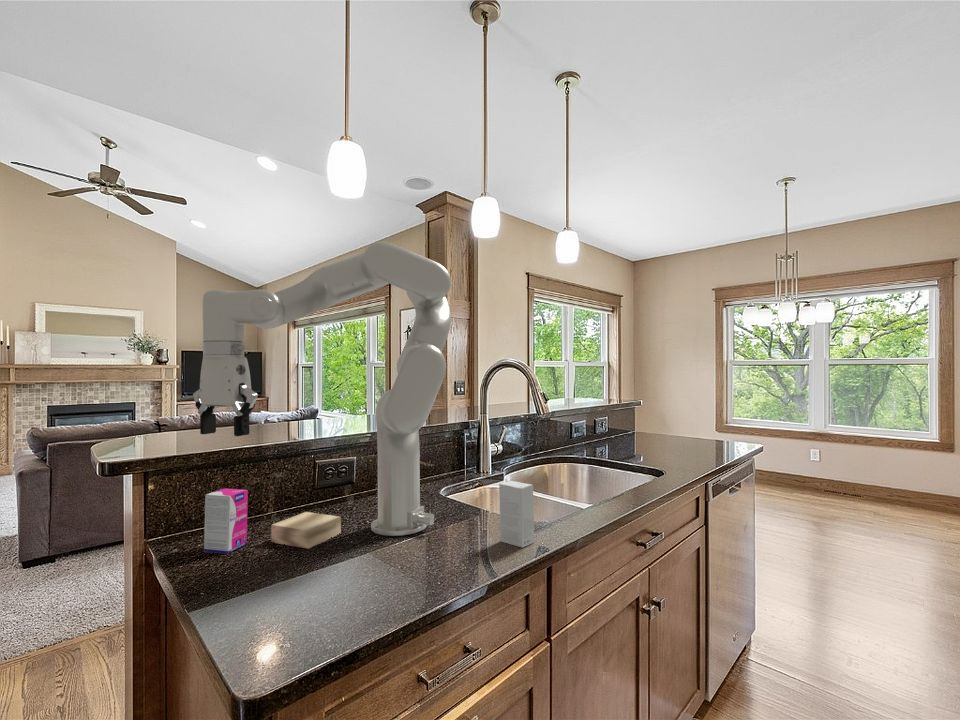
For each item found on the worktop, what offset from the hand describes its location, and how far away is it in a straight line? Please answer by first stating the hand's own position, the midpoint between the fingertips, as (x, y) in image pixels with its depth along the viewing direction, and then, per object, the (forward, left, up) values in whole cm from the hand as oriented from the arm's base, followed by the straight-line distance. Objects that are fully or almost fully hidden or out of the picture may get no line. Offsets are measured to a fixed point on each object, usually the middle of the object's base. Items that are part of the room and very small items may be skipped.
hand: (224, 434), depth 100 cm
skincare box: (-54, -25, -23) cm, 64 cm away
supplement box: (0, 0, -23) cm, 23 cm away
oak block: (-11, -11, -24) cm, 28 cm away
